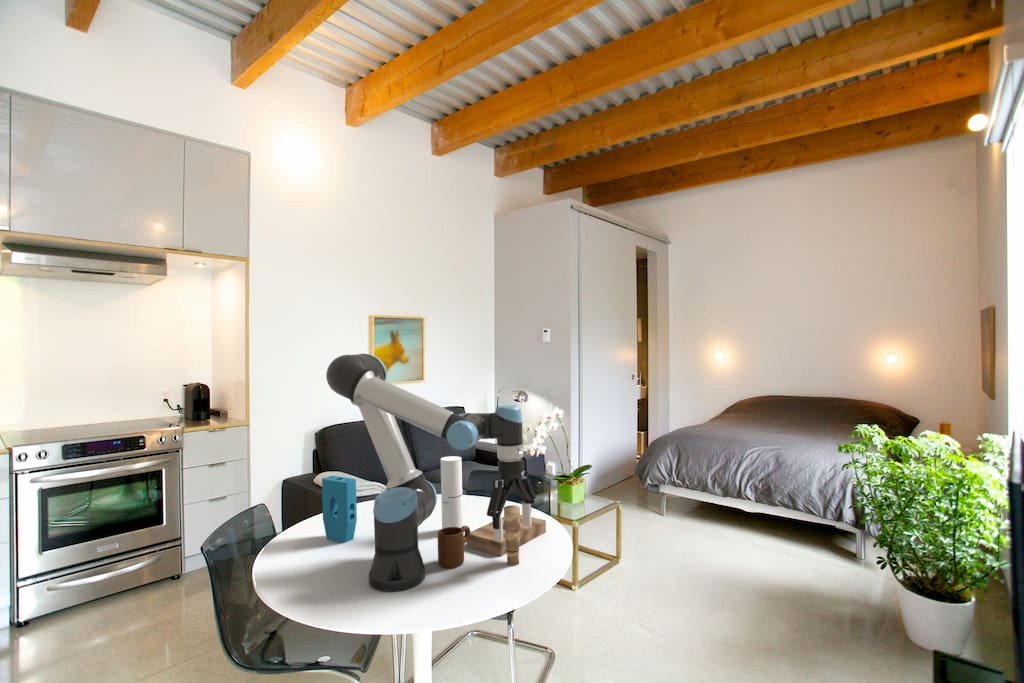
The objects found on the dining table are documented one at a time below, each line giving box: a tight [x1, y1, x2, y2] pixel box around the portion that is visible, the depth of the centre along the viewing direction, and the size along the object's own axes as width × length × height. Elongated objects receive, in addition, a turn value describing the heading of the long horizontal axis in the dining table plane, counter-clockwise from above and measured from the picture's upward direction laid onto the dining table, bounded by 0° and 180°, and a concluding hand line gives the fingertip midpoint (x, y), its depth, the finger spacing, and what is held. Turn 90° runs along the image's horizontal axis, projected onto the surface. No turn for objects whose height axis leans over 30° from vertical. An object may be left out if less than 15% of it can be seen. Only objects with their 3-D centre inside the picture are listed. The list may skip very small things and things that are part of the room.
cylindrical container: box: [440, 455, 464, 529], centre depth 177 cm, size 7×7×25 cm
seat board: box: [466, 514, 547, 557], centre depth 169 cm, size 24×14×4 cm, turn 142°
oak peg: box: [503, 504, 521, 567], centre depth 150 cm, size 5×5×16 cm
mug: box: [437, 525, 471, 569], centre depth 153 cm, size 12×8×9 cm, turn 143°
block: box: [321, 475, 358, 544], centre depth 173 cm, size 12×5×20 cm, turn 59°
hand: (513, 532), depth 150 cm, fingers open, 13 cm apart
